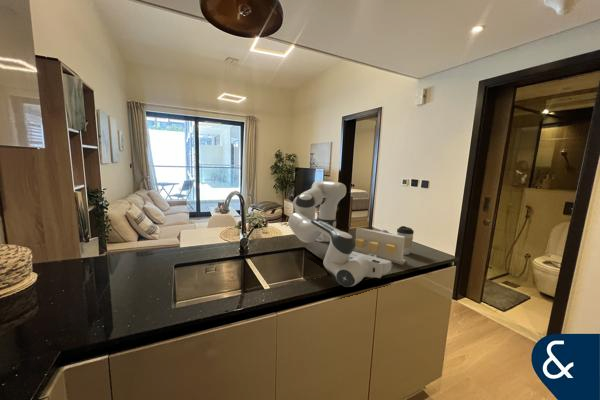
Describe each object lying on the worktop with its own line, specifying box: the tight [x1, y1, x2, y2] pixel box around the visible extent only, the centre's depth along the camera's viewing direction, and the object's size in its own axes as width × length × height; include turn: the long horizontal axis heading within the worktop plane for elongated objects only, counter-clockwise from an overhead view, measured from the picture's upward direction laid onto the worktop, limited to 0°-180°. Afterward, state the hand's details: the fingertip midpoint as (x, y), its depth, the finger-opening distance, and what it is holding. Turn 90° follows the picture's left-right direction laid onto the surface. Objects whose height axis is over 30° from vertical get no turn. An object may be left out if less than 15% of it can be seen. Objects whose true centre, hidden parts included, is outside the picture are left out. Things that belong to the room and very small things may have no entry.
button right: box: [386, 243, 396, 254], centre depth 129 cm, size 4×7×4 cm, turn 141°
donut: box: [378, 229, 390, 245], centre depth 155 cm, size 10×4×10 cm, turn 120°
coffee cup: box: [396, 225, 415, 256], centre depth 142 cm, size 9×9×15 cm
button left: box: [355, 238, 366, 248], centre depth 137 cm, size 4×7×4 cm, turn 141°
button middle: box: [369, 241, 380, 252], centre depth 132 cm, size 4×7×4 cm, turn 141°
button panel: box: [353, 227, 406, 266], centre depth 136 cm, size 28×5×14 cm, turn 51°
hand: (373, 256), depth 117 cm, fingers closed
